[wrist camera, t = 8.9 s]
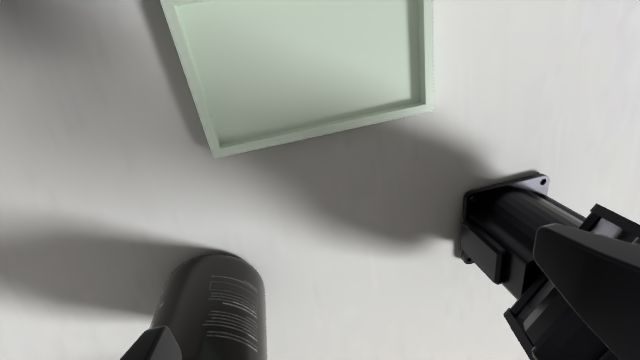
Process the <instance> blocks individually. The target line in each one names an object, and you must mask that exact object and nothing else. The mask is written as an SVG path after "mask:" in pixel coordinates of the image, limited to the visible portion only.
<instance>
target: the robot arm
mask: <svg viewBox="0 0 640 360" xmlns="http://www.w3.org/2000/svg"><path fill="white" fill-rule="evenodd" d="M540 181H541V182H540ZM548 185H549V177H548V176H546V175H544V174H537V175H533V176H529V177H525V178H521V179H516V180H512V181H508V182H504V183H500V184H496V185H492V186H488V187H484V188H480V189H475V190H471V191H469V192H467V193H466V194H465V195H464V199H463V221H462V224H461V249H462V252H461V258H462V260H463V261H464V262H465V263H466V264H472V263H475V264H476V265H477V266H478V267H479V268H480V269H481V270H482V271H483V272H484V273H485V274H486V275H487V276H488V277H489V278H490V279H491V280H492V281H493V282H494V283H495V284H497V285H498V284H502V285H503V286H504V287H505V288H506V289H507V290H508V291H509V292H510V293H511V294H512V295H513V296H514V297H515V298H516V299H517V301H516V302H515V304H514V305H513V306H512V307H511V308H508V309H507V311H506V312H505V313H504V314H503V315H504V317H505V319H506V320H507V322H508V323H509V325H510V327H511V329H512V331H513V332H514V334H515V336H516V337H517V339H518V341H519V342H520V344H521V345H522V347H523V349H524V350H525V352H526V354H527V355H528V357H529V359H530V360H640V225H639V224H637V223H635V222H633V221H631V220H629V219H627V218H625V217H623V216H621V215H619V214H617V213H615V212H613V211H611V210H609V209H607V208H605V207H602V206H600V205H598V204H595V206H594V207H593V208H592V209H591V210H590V211H591V213H590V214H589V216H588V217H587V218H585V217H584V216H582V215H580V214H578V213H576V212H575V211H573V210H571V209H569V208H567V207H566V206H564V205H562V204H560V203H558V202H557V201H555V200H553V199H551V198H549V197H548V196H547V191H548ZM471 197H473V198H472V199H470V198H471ZM468 257H469V258H468ZM120 360H182V356H181V350H180V348H179V346H178V344H177V342H176V340H175V338H174V337H173V335H172V333H171V331H170V329H169V328H168V327H167V326H159V327H155V328H151V329H148V330H146V331H145V332H144V333H143V334H142V335H141V336H140V337H139V338H138V339H137V341H136V342H135V343H134V344H133V345H132V346H131V347H130V349H129V350H128V351H127V352H126V353H125V354H124V355H123V356H122V358H121V359H120Z"/></svg>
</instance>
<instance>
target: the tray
mask: <svg viewBox="0 0 640 360" xmlns="http://www.w3.org/2000/svg"><path fill="white" fill-rule="evenodd" d="M160 2H161V5H162V8H163V11H164V14H165V17H166V20H167V23H168V26H169V29H170V32H171V35H172V38H173V41H174V44H175V47H176V50H177V53H178V56H179V58H180V61H181V64H182V67H183V70H184V73H185V76H186V79H187V82H188V85H189V88H190V91H191V94H192V97H193V100H194V103H195V106H196V109H197V112H198V115H199V118H200V121H201V124H202V126H203V129H204V132H205V135H206V138H207V141H208V144H209V147H210V150H211V153H212V156H213V159H216V158H221V157H225V156H230V155H235V154H239V153H244V152H248V151H253V150H257V149H262V148H267V147H271V146H276V145H280V144H285V143H290V142H294V141H299V140H303V139H308V138H313V137H317V136H322V135H326V134H331V133H336V132H340V131H345V130H349V129H354V128H359V127H363V126H368V125H372V124H377V123H382V122H386V121H391V120H395V119H400V118H405V117H409V116H414V115H418V114H423V113H428V112H432V111H434V55H433V0H160Z"/></svg>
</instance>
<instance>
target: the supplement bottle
mask: <svg viewBox="0 0 640 360" xmlns="http://www.w3.org/2000/svg"><path fill="white" fill-rule="evenodd" d="M159 326H167V327H168V328H169V329H170V331H171V333H172V335H173V337H174V338H175V340H176V342H177V344H178V346H179V348H180V350H181V356H182V360H267V336H266V303H265V288H264V283H263V281H262V278H261V276H260V275H259V273H258V272H257V271H256V270H255V269H254V268H253V267H252V266H251V265H250V264H248V263H247V262H245V261H243V260H241V259H239V258H236V257H233V256H228V255H220V254H214V255H205V256H201V257H197V258H194V259H192V260H189V261H188V262H186V263H184V264H182V265H181V266H180V267H178V268H177V269H176V270H175V271H174V272H173V273H172V274H171V276H170V277H169V279H168V280H167V282H166V285H165V287H164V289H163V292H162V295H161V297H160V300H159V303H158V306H157V308H156V311H155V314H154V317H153V319H152V322H151V325H150V328H149V329H151V328H155V327H159Z"/></svg>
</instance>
